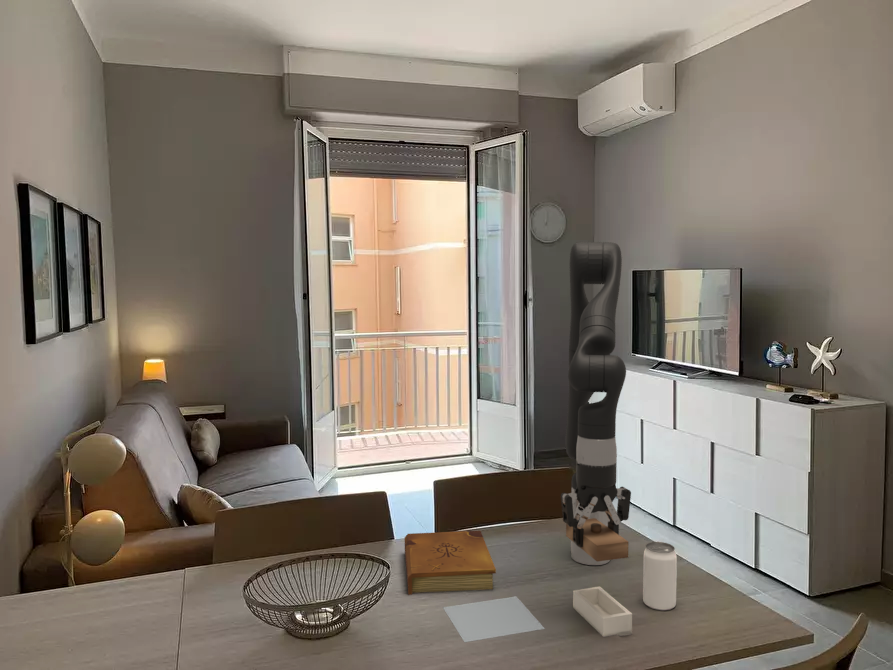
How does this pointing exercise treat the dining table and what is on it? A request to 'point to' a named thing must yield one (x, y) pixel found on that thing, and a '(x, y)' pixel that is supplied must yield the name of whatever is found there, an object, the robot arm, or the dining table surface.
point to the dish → (602, 612)
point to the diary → (448, 562)
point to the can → (659, 576)
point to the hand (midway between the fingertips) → (595, 543)
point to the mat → (492, 619)
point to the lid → (601, 541)
